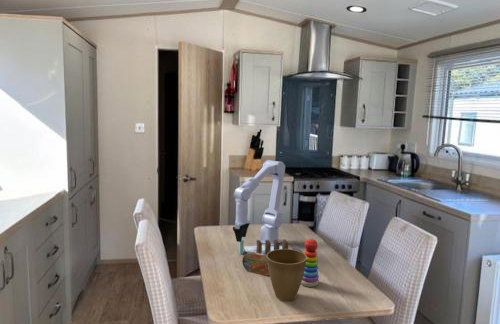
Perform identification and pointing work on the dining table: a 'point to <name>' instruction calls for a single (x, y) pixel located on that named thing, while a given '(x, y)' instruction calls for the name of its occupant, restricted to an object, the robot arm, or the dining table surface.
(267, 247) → the domino
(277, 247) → the domino
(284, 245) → the domino
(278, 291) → the plant pot
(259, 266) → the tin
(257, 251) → the domino
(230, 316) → the dining table surface
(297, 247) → the stop block
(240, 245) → the domino
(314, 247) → the stacking toy
